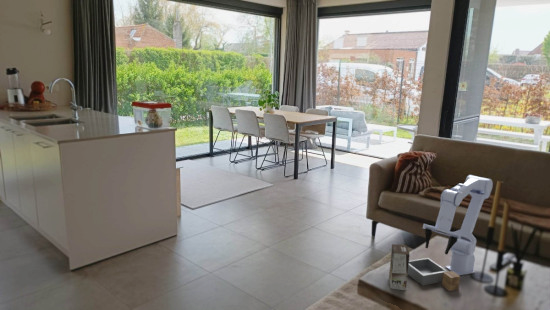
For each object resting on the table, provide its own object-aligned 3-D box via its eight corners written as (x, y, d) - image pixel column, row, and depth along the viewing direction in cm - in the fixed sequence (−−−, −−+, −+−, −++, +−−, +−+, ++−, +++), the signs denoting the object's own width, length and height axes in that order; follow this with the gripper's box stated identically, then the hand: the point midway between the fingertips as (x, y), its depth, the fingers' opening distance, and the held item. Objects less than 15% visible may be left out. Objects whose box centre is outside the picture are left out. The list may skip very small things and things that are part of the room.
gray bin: (427, 266, 183) (428, 257, 182) (447, 280, 171) (448, 271, 170) (403, 270, 179) (404, 261, 178) (422, 285, 167) (423, 275, 166)
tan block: (450, 283, 169) (452, 271, 167) (458, 289, 164) (460, 276, 163) (441, 285, 167) (443, 272, 166) (449, 291, 163) (451, 277, 162)
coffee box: (406, 290, 163) (410, 254, 159) (390, 288, 164) (393, 253, 160) (403, 279, 171) (407, 245, 168) (388, 277, 172) (391, 243, 169)
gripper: (428, 214, 159) (418, 246, 159) (466, 225, 155) (456, 258, 155) (426, 213, 166) (417, 244, 166) (462, 223, 162) (453, 255, 162)
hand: (436, 250), depth 161 cm, fingers open, 7 cm apart
